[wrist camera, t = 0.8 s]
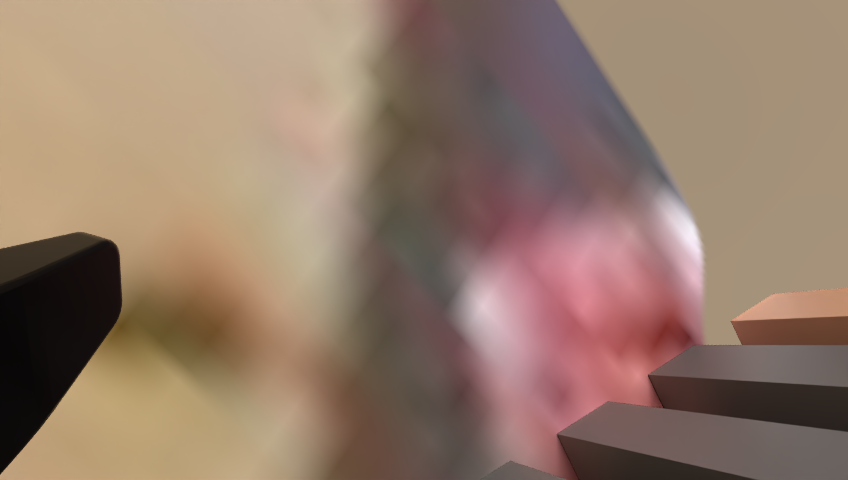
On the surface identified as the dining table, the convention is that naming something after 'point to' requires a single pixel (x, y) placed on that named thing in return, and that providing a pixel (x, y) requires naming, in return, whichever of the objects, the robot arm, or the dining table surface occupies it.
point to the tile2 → (519, 473)
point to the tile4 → (760, 383)
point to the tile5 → (796, 319)
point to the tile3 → (698, 447)
